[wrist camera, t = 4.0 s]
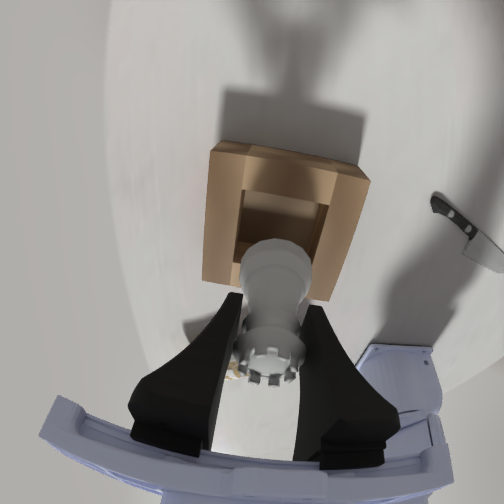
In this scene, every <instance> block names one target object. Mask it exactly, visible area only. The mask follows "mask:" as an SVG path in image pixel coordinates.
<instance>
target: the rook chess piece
mask: <svg viewBox="0 0 504 504" xmlns="http://www.w3.org/2000/svg"><path fill="white" fill-rule="evenodd" d="M311 274H312V265H311V260H310V258H309V256H308V255H307V254H306V252H305V251H304V250H303V248H301V247H300V246H298V245H296V244H294V243H293V242H291V241H288V240H282V239H276V238H274V239H269V240H264V241H260V242H258V243H256V244H255V245H253V246H252V247H250V248H249V249H248V250H247V251H246V253H245V254H244V256H243V257H242V259H241V266H240V274H239V282H240V285H241V288H242V291H243V294H244V295H245V296H246V299H247V300H248V316H247V317H246V318H245V319H244V321H243V324H242V331H243V334H242V335H240V336H239V337H238V339H237V340H236V341H235V342H234V343H233V349H232V354H233V356H234V358H235V360H236V362H237V363H238V372H239V374H240V376H241V377H243V376H247V373H248V374H249V379H248V383H251V384H254V385H256V386H258V385H259V383H260V378H262V379H269V383H268V386H269V388H270V387H280V378H283V377H284V381H285V382H287V383H290V382H292V381H293V380H294V379H295V378H296V372H298V368H299V367H300V366H301V365H302V364H303V363H304V361H305V358H306V356H307V351H306V347H305V344H304V343H303V342H302V341H301V340H300V339H299V336H300V333H301V326H300V322H299V321H298V320H297V313H298V307H299V304H300V303H301V302H302V301H303V299H304V297H305V296H306V295H307V294H308V292H309V289H310V285H311V282H312V275H311Z"/></svg>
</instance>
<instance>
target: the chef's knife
mask: <svg viewBox="0 0 504 504" xmlns="http://www.w3.org/2000/svg"><path fill="white" fill-rule="evenodd" d="M431 206H432V210H433V213H440V214H442V215H444V216H446V217H448V218H449V219H450V220H452V221H453V222H454V223H456V224H457V225H458V226H459V227H460V228H461V229H462V230H463V231H464V232H465V233H466V234H467V235H468V236H469V241H468V243H467V245H466V247H465V249H464V250H463V252H462V254H463V255H465V256H467V257H469V258H470V259H472V260H474V261H476V262H478V263H479V264H481V265H483V266H485V267H486V268H488V269H490V270H492V271H494V272H497V273H504V253H503V252H502V251H501V250H500V249H499V248H498V247H497V246H495V245H494V244H493V243H492V242H491V241H490V240H489V239H488V238H487V237H486V236H485V235H484V234H483V233H482V232H480V231H479V230H478V229H477V228H476V227H475V226H474V225H472V224H471V223H470V222H469V221H468V220H466V219H465V218H464V217H463V216H462V215H460V214H459V213H458V212H457V211H456V210H454V209H453V208H452V207H451V206H449V205H448V204H447V203H446V202H444V201H443V200H441V199H439V198H437V197H433V198H432V199H431Z"/></svg>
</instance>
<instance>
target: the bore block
mask: <svg viewBox="0 0 504 504" xmlns="http://www.w3.org/2000/svg"><path fill="white" fill-rule="evenodd" d="M370 182H371V181H370V180H369V178H368V177H367V176H366V175H365V174H364V172H363V171H362V170H361V169H360V168H359V167H358V166H356V165H352V164H348V163H344V162H340V161H335V160H331V159H327V158H322V157H318V156H313V155H308V154H303V153H298V152H293V151H287V150H282V149H276V148H270V147H264V146H258V145H252V144H245V143H238V142H230V141H221V142H220V143H219V144H217V145H216V146H215V147H214V148H213V149H212V150H211V151H210V160H209V172H208V184H207V197H206V211H205V226H204V244H203V265H202V281H208V282H213V283H218V284H224V285H229V286H235V287H241V285H240V282H239V274H240V266H241V259H242V257H243V256H244V254H245V253H246V251H247V250H248V249H249V248H250V247H252V246H253V245H255V244H256V243H258V242H260V241H264V240H269V239H274V238H276V239H282V240H288V241H291V242H293V243H294V244H296V245H298V246H300V247H301V248H303V250H304V251H305V252H306V254H307V255H308V256H309V258H310V260H311V265H312V274H311V275H312V282H311V285H310V289H309V292H308V294H307V295H306V296H305V297H304V298H307V299H314V300H321V301H327V302H329V300H330V297H331V295H332V292H333V290H334V287H335V285H336V282H337V279H338V277H339V274H340V272H341V269H342V266H343V264H344V261H345V258H346V255H347V253H348V250H349V247H350V244H351V241H352V238H353V235H354V232H355V230H356V227H357V224H358V221H359V217H360V214H361V211H362V208H363V205H364V202H365V198H366V195H367V192H368V189H369V185H370Z"/></svg>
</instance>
